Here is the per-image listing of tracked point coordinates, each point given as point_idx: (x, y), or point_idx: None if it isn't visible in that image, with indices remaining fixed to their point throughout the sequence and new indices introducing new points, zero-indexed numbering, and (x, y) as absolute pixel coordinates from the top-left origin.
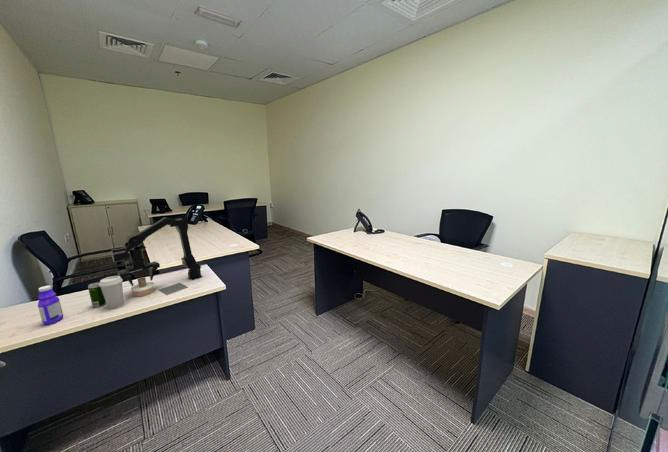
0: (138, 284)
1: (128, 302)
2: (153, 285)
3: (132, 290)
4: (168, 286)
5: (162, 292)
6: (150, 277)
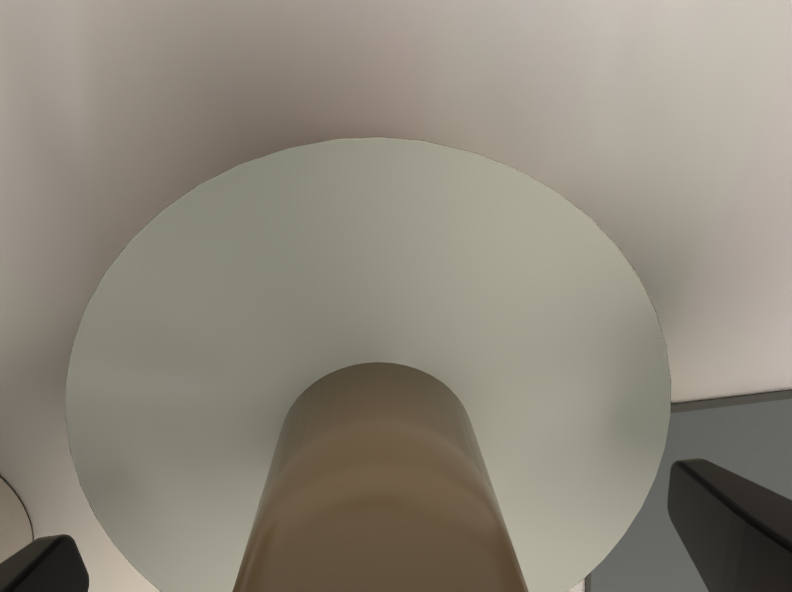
0: (299, 183)
1: (99, 543)
2: (580, 572)
3: (110, 523)
4: (789, 407)
5: (593, 585)
6: (764, 589)
